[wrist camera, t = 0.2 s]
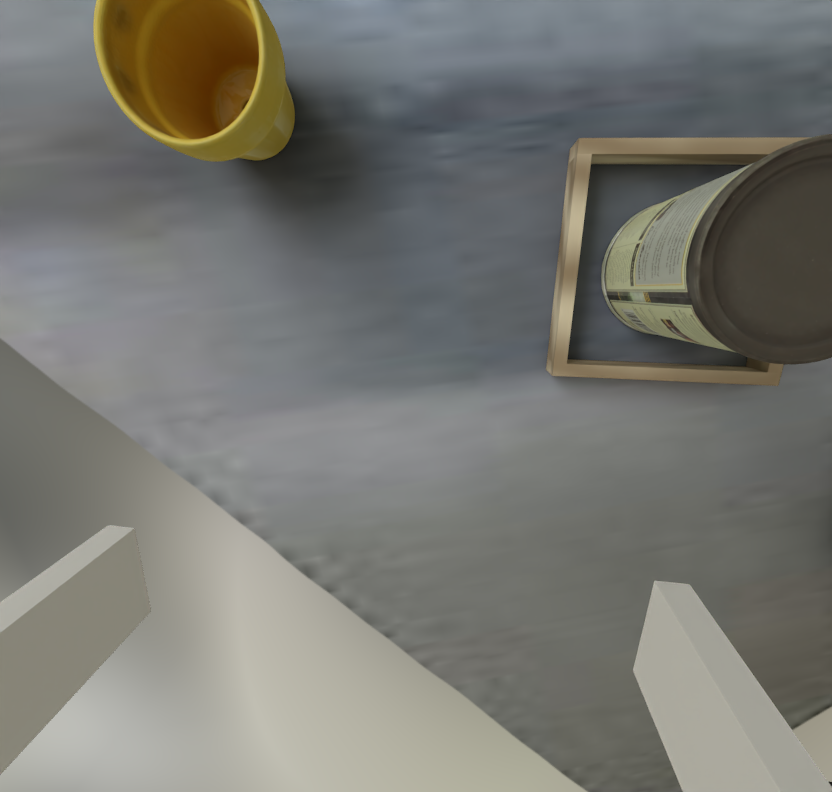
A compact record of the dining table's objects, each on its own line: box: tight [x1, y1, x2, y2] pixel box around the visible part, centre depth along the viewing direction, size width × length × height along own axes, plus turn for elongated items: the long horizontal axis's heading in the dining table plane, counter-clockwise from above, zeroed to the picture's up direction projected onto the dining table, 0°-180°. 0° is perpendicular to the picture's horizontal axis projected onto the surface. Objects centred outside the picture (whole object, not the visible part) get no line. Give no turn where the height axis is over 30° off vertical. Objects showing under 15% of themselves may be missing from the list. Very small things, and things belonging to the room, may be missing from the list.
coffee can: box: [601, 134, 832, 364], centre depth 26 cm, size 10×10×14 cm
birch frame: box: [546, 138, 807, 386], centre depth 32 cm, size 17×17×2 cm
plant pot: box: [94, 0, 295, 161], centre depth 28 cm, size 10×10×10 cm
